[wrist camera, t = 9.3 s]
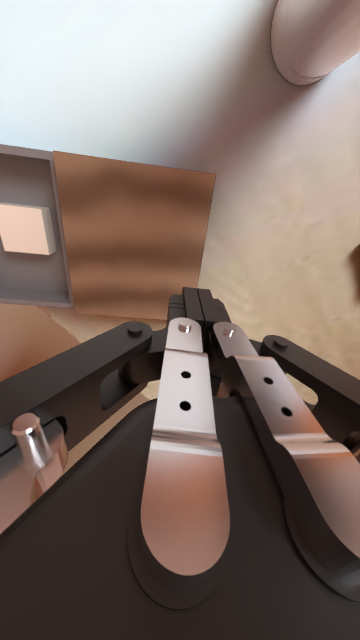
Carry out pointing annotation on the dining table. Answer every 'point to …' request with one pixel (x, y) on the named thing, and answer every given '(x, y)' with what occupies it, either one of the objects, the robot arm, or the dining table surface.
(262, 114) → the dining table surface
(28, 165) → the box
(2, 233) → the tile
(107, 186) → the brown wooden box
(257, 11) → the dining table surface
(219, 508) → the robot arm
